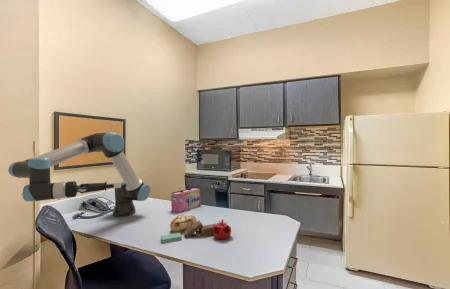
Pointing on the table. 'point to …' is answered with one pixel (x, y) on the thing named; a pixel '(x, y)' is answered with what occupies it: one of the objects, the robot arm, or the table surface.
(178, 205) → the gum box
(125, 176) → the robot arm
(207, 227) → the walnut domino
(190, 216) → the trinket box
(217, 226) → the pomegranate
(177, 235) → the domino
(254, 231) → the table surface
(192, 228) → the walnut domino
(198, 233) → the walnut domino
